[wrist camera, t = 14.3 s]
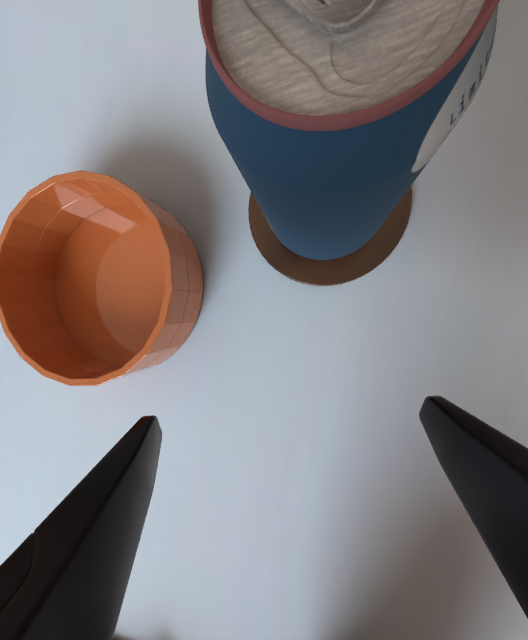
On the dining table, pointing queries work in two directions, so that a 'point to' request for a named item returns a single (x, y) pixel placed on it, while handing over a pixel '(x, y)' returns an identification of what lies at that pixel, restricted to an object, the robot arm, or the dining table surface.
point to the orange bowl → (95, 280)
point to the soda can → (339, 104)
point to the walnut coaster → (333, 268)
